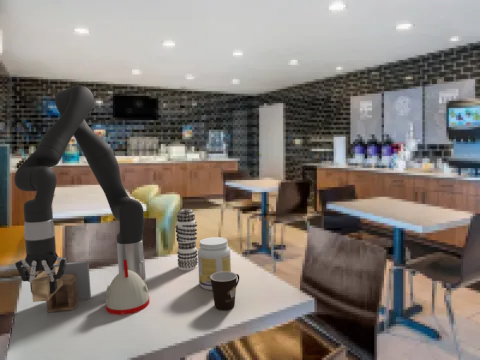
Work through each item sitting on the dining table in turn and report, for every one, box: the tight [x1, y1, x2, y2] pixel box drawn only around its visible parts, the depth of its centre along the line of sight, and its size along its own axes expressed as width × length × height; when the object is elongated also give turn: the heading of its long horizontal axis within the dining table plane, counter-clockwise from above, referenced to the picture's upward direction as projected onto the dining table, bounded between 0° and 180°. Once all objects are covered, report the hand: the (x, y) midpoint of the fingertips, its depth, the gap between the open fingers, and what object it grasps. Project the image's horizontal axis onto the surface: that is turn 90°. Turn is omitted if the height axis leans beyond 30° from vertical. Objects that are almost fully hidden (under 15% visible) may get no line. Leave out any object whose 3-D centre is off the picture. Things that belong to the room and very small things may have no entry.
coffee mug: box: [210, 271, 240, 311], centre depth 117 cm, size 12×9×10 cm
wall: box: [54, 261, 92, 301], centre depth 124 cm, size 14×2×13 cm, turn 98°
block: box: [46, 274, 79, 313], centre depth 118 cm, size 8×5×10 cm, turn 98°
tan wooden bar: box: [31, 267, 63, 303], centre depth 107 cm, size 4×12×6 cm, turn 8°
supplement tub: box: [197, 236, 232, 291], centre depth 134 cm, size 12×12×17 cm
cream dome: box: [105, 260, 150, 316], centre depth 119 cm, size 14×14×15 cm
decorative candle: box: [175, 208, 198, 271], centre depth 153 cm, size 9×9×25 cm
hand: (44, 293), depth 104 cm, fingers closed on tan wooden bar, 4 cm apart
